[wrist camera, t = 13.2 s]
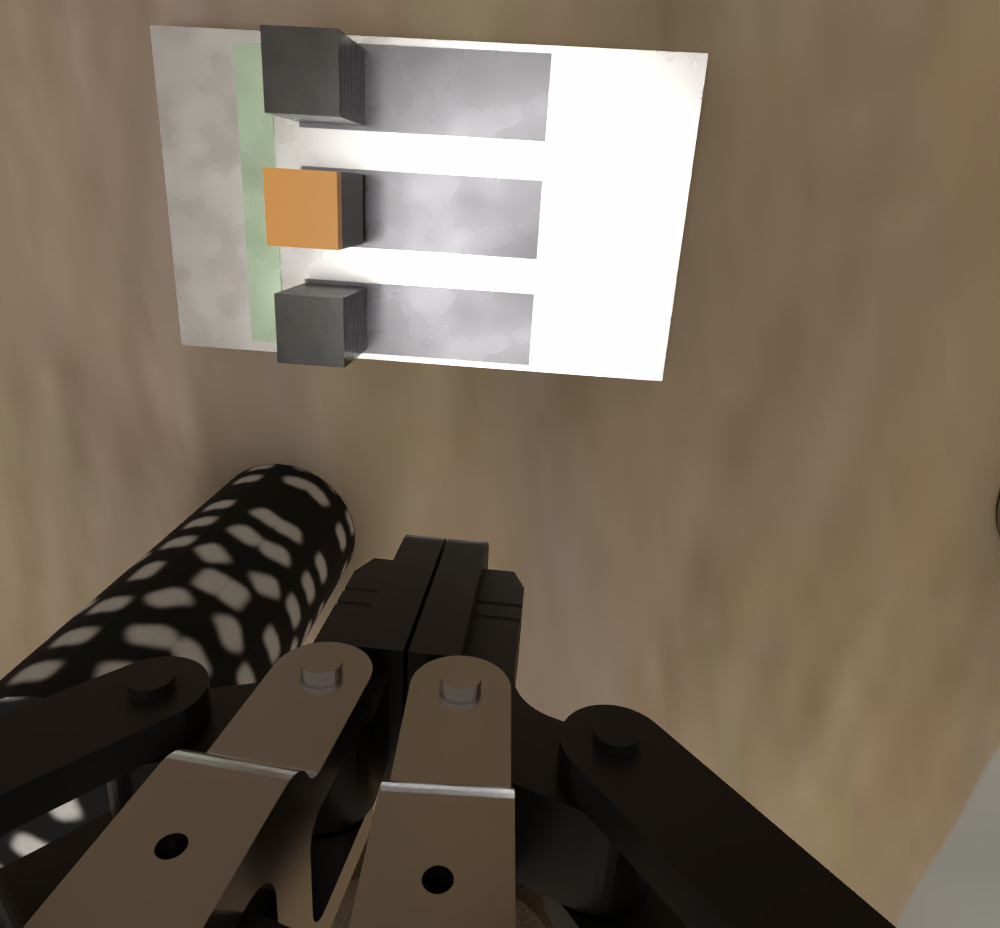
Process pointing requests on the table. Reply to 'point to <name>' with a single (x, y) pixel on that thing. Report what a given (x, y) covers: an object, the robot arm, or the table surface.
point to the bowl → (525, 917)
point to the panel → (431, 196)
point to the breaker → (313, 208)
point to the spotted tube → (197, 607)
